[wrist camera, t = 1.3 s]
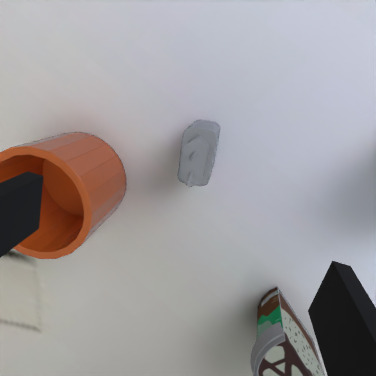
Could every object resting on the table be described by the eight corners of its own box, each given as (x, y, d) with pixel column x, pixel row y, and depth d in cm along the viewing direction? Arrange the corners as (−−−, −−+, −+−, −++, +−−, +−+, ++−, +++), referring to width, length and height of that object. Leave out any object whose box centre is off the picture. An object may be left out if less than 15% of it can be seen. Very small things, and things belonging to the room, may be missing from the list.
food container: (230, 296, 42) (228, 357, 32) (271, 277, 40) (282, 336, 31) (277, 362, 44) (288, 437, 35) (317, 347, 42) (341, 421, 33)
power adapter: (221, 123, 35) (214, 140, 24) (213, 169, 37) (203, 205, 25) (194, 118, 35) (174, 133, 24) (187, 164, 37) (166, 198, 26)
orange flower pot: (119, 229, 41) (84, 272, 32) (37, 207, 42) (-21, 241, 32) (133, 145, 37) (98, 164, 28) (42, 121, 38) (-21, 133, 29)
